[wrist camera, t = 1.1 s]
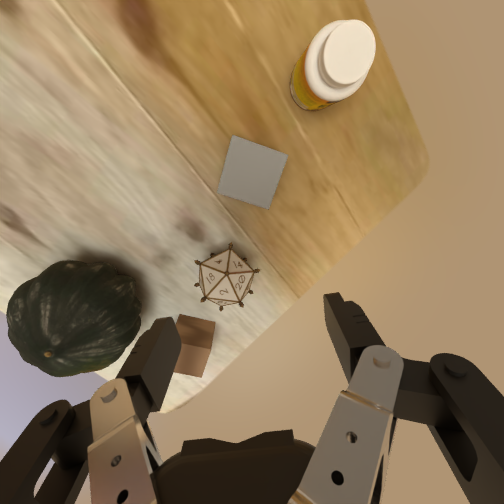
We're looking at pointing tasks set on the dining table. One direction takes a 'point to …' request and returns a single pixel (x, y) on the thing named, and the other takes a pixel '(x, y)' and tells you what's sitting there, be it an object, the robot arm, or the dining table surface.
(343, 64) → the supplement bottle
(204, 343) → the walnut cube
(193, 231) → the dining table surface
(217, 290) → the game die
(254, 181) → the slate cube
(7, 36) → the dining table surface
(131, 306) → the squash
